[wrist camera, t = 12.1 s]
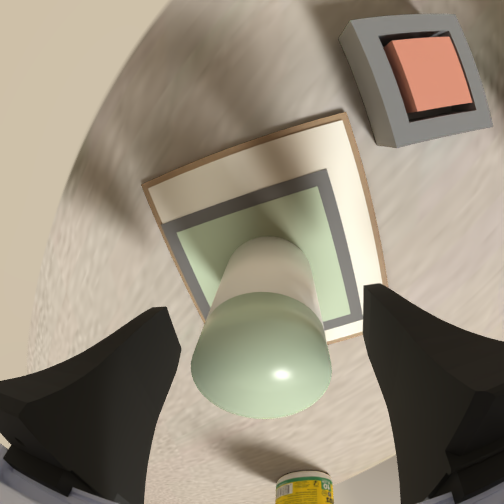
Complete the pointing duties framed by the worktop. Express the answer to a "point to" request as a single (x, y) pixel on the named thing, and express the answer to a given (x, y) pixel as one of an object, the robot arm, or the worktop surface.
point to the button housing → (385, 86)
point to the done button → (427, 73)
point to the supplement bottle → (304, 488)
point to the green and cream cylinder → (264, 335)
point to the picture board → (278, 215)
